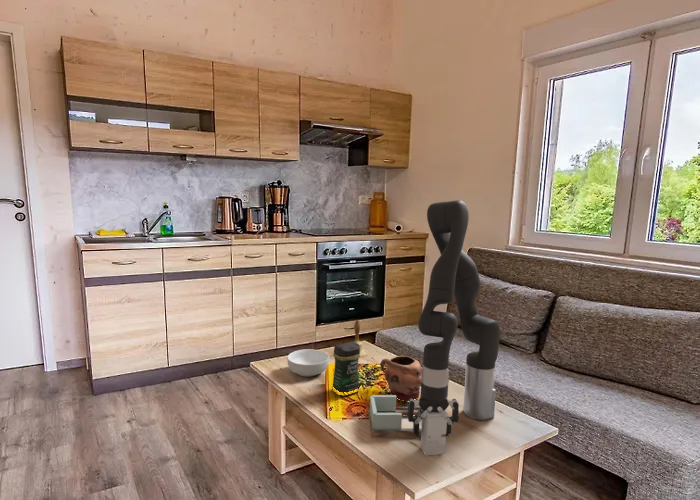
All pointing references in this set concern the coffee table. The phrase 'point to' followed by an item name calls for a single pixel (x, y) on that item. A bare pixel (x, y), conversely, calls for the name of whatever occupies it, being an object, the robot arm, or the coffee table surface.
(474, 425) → the coffee table surface
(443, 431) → the skincare box
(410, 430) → the board
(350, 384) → the coffee jar
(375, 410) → the bracket
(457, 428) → the coffee table surface
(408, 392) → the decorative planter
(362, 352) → the hand bell
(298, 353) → the cereal bowl
